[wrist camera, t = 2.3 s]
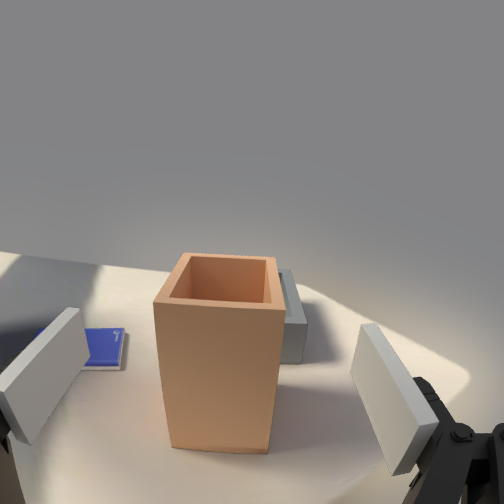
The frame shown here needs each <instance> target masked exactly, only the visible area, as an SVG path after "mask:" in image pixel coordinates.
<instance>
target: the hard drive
mask: <svg viewBox="0 0 504 504" xmlns="http://www.w3.org/2000/svg"><path fill="white" fill-rule="evenodd" d="M45 329H46V328H40V329H39V331H38V333H37V334H36V336H35V338H36V337H37V336H38V335H39V334H40V333H41V332H43V331H44V330H45ZM85 334H86V339H87V343H88V348H89V352H90V358H89V359H88V360H87V362H86V363H85V365H84V366H83V368H82V369H81V370H120V366H121V358H122V350H123V343H124V336H125V330H124V328H100V329H85ZM35 338H34V339H35Z"/></svg>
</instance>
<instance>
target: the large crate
mask: <svg viewBox="0 0 504 504" xmlns="http://www.w3.org/2000/svg"><path fill="white" fill-rule="evenodd" d="M277 270H278V274H279V279H280V284H281V289H282V293H283V298H284V303H285V308H286V314H285V323H284V332H283V341H282V349H281V357H280V364H301V363H302V357H303V350H304V344H305V338H306V331H307V325H308V323H307V320H306V317H305V314H304V310H303V307H302V304H301V301H300V298H299V295H298V291H297V288H296V285H295V282H294V279H293V276H292V273H291V270H286V269H277Z"/></svg>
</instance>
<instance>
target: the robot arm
mask: <svg viewBox="0 0 504 504" xmlns="http://www.w3.org/2000/svg"><path fill="white" fill-rule="evenodd" d="M89 358H90V352H89V348H88V343H87V339H86V334H85V329H84V324H83V319H82V314H81V309H78V308H70V307H68V308H67V309H65V310H64V311H63V312H62V313H61V314H60V315H59V316H58V317H57V318H56V319H55V320H54V321H53V322H52V323H51V324H50V325H49V326H48V327H47V328H46V329H45V330H44V331H43V332H41V333H40V334H39V335H38V336H37V337H36V338H35V339H34V340H33V341H32V342H31V343H30V344H29V345H28V346H27V347H26V348H25V349H24V350H23V351H22V352H19V353H17V354H15V355H13V356H12V357H10V358H9V359H8V360H7V361H6V362H5V363H4V365H2V366H1V367H0V504H26V503H25V500H24V497H23V493H22V490H21V486H20V482H19V479H18V475H17V471H16V467H15V462H14V458H13V453H12V448H11V443H10V440H9V437H8V436H7V434H8V433H9V431H10V430H11V431H12V433H13V434H14V436H15V438H16V440H18V441H21V442H23V443H26V444H28V445H31V444H32V443H33V441H34V440H35V438H36V436H37V435H38V433H39V432H40V430H41V429H42V427H43V425H44V424H45V422H46V421H47V419H48V418H49V416H50V415H51V413H52V412H53V410H54V409H55V407H56V406H57V404H58V403H59V401H60V400H61V398H62V397H63V395H64V394H65V392H66V391H67V389H68V388H69V386H70V385H71V383H72V382H73V380H74V379H75V378H76V376H77V375H78V373H79V372H80V370H81V369H82V368H83V366H84V365H85V363H86V362H87V360H88V359H89ZM350 373H351V375H352V378H353V380H354V382H355V385H356V387H357V390H358V392H359V395H360V397H361V400H362V402H363V404H364V407H365V409H366V412H367V414H368V417H369V419H370V422H371V424H372V427H373V430H374V432H375V435H376V437H377V440H378V442H379V445H380V448H381V450H382V453H383V455H384V458H385V461H386V463H387V466H388V469H389V471H390V474H391V476H396V475H400V474H405V473H409V472H411V470H412V468H413V467H414V465H415V464H417V466H418V468H419V472H418V473H417V475H416V476H415V478H414V479H413V481H412V482H411V484H410V485H409V487H410V489H409V491H408V493H407V495H406V497H405V499H404V501H403V503H402V504H458V503H459V500H460V497H461V504H504V423H501V424H498V425H497V426H496V427H495V428H494V430H493V432H492V433H483V434H480V433H474V431H473V429H471V428H470V427H469V426H467V425H465V424H463V423H456V422H455V421H454V419H453V418H452V416H451V415H450V413H449V411H448V410H447V408H446V407H445V405H444V404H443V402H442V401H441V400H440V398H439V396H438V395H437V393H435V390H434V389H433V387H432V386H431V385H430V383H428V382H427V381H426V380H424V379H423V378H422V377H414V378H412V377H411V375H410V374H409V372H408V371H407V369H406V367H405V366H404V364H403V363H402V361H401V360H400V358H399V357H398V355H397V354H396V352H395V351H394V349H393V348H392V346H391V345H390V343H389V342H388V340H387V339H386V337H385V336H384V334H383V333H382V331H381V330H380V328H379V327H378V325H377V324H361V327H360V332H359V336H358V341H357V345H356V350H355V354H354V358H353V362H352V366H351V370H350ZM461 494H462V495H461Z"/></svg>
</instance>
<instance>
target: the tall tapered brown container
mask: <svg viewBox="0 0 504 504" xmlns="http://www.w3.org/2000/svg"><path fill="white" fill-rule="evenodd" d="M153 308H154V320H155V331H156V341H157V351H158V359H159V368H160V376H161V383H162V391H163V398H164V404H165V411H166V417H167V423H168V429H169V435H170V441H171V446H172V447H174V448H182V449H190V450H200V451H211V452H225V453H244V454H267V451H268V445H269V438H270V431H271V425H272V418H273V411H274V403H275V396H276V388H277V381H278V373H279V365H280V357H281V349H282V341H283V332H284V323H285V314H286V308H285V303H284V298H283V293H282V289H281V284H280V279H279V274H278V270H277V265H276V260H275V258H274V257H256V256H237V255H217V254H197V253H184V254H183V255H182V257H181V259H180V260H179V262H178V263H177V265H176V266H175V268H174V269H173V271H172V272H171V274H170V276H169V277H168V279H167V280H166V282H165V283H164V285H163V287H162V288H161V290H160V291H159V293H158V295H157V296H156V298H155V300H154V301H153Z"/></svg>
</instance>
